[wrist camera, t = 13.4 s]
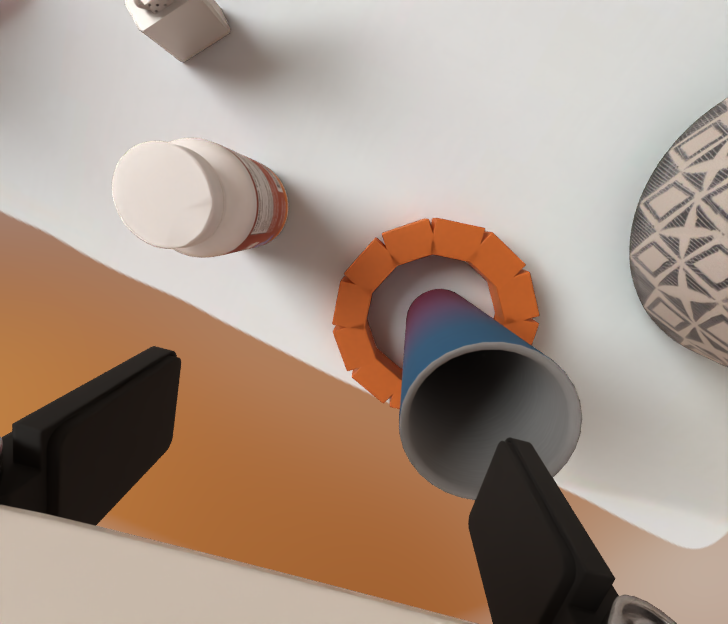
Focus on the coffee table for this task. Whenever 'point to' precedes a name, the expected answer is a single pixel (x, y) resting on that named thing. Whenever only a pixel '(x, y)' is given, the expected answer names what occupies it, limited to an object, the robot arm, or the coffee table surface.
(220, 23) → the lighter
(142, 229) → the pill bottle
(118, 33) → the coffee table surface
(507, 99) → the coffee table surface
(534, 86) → the coffee table surface
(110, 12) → the coffee table surface
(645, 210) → the planter
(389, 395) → the ring
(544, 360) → the cup
